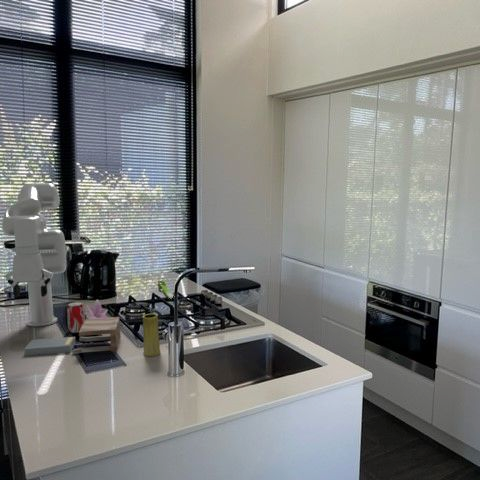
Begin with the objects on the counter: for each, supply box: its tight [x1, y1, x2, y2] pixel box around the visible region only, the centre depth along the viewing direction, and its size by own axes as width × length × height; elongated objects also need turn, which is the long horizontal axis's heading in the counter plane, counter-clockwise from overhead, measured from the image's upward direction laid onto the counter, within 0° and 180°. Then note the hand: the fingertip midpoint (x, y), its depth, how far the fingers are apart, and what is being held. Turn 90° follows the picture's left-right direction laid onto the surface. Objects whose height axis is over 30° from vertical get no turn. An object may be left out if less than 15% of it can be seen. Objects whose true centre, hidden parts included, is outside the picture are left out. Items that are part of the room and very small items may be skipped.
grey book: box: [24, 336, 76, 356], centre depth 172 cm, size 10×16×3 cm, turn 100°
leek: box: [157, 280, 174, 300], centre depth 253 cm, size 6×7×30 cm
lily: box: [85, 299, 109, 319], centre depth 203 cm, size 12×12×10 cm
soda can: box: [66, 301, 86, 334], centre depth 192 cm, size 7×7×12 cm
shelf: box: [72, 316, 121, 355], centre depth 175 cm, size 16×16×8 cm
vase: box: [142, 313, 161, 357], centre depth 165 cm, size 6×6×14 cm
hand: (30, 296), depth 169 cm, fingers open, 9 cm apart
